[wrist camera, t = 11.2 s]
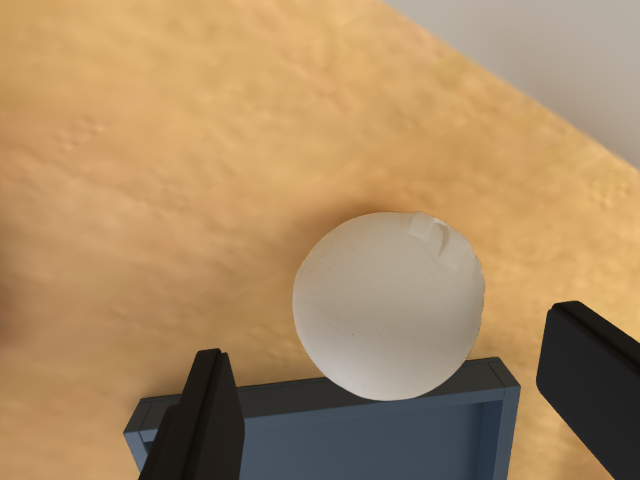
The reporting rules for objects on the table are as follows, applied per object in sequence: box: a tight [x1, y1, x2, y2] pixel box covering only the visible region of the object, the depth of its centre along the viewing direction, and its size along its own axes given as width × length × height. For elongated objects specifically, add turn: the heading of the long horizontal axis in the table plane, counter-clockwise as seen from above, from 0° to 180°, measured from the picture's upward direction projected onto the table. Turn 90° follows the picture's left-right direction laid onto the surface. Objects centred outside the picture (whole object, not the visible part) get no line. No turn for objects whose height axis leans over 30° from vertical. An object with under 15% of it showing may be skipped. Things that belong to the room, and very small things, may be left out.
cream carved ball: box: [292, 211, 485, 401], centre depth 14 cm, size 7×7×7 cm
